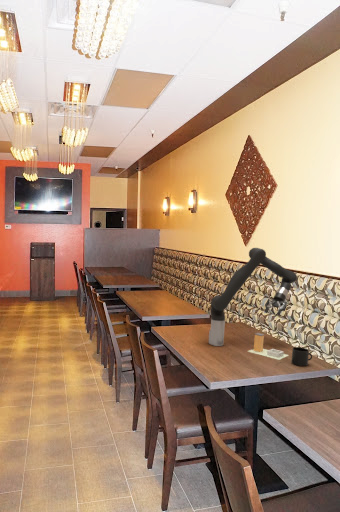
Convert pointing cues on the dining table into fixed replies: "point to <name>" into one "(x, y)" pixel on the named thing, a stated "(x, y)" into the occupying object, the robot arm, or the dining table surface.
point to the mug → (300, 356)
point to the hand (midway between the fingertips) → (271, 313)
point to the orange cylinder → (258, 342)
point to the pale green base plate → (270, 353)
